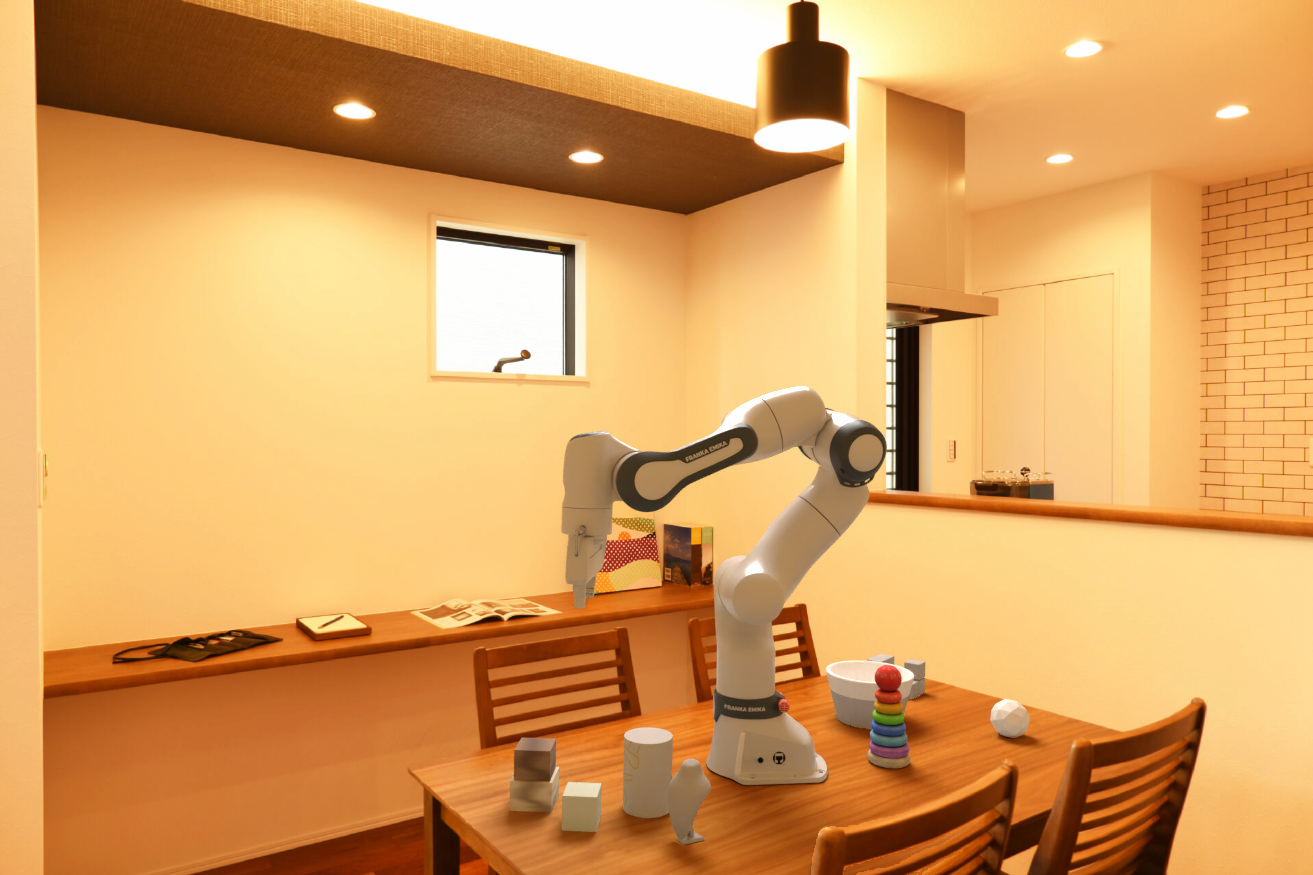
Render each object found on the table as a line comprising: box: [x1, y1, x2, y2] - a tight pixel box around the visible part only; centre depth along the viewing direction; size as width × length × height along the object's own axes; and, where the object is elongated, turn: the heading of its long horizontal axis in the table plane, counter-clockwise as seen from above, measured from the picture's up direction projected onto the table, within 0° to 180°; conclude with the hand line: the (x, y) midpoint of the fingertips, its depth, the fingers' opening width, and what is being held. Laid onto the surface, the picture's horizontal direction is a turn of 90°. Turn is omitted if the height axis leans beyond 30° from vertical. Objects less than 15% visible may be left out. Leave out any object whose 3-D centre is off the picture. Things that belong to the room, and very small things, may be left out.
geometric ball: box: [990, 698, 1031, 739], centre depth 182 cm, size 8×8×8 cm
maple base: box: [509, 766, 560, 813], centre depth 145 cm, size 7×7×5 cm
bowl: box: [825, 660, 914, 730], centre depth 192 cm, size 19×19×11 cm
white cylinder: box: [622, 726, 674, 819], centre depth 143 cm, size 8×8×12 cm
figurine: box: [668, 758, 712, 845], centre depth 132 cm, size 8×5×12 cm
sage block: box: [561, 781, 602, 833], centre depth 137 cm, size 6×6×6 cm
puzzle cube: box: [866, 653, 926, 700], centre depth 212 cm, size 12×12×8 cm
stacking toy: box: [867, 665, 911, 769], centre depth 166 cm, size 8×8×19 cm
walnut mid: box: [513, 737, 557, 782], centre depth 144 cm, size 6×6×5 cm
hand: (584, 602), depth 150 cm, fingers open, 8 cm apart
